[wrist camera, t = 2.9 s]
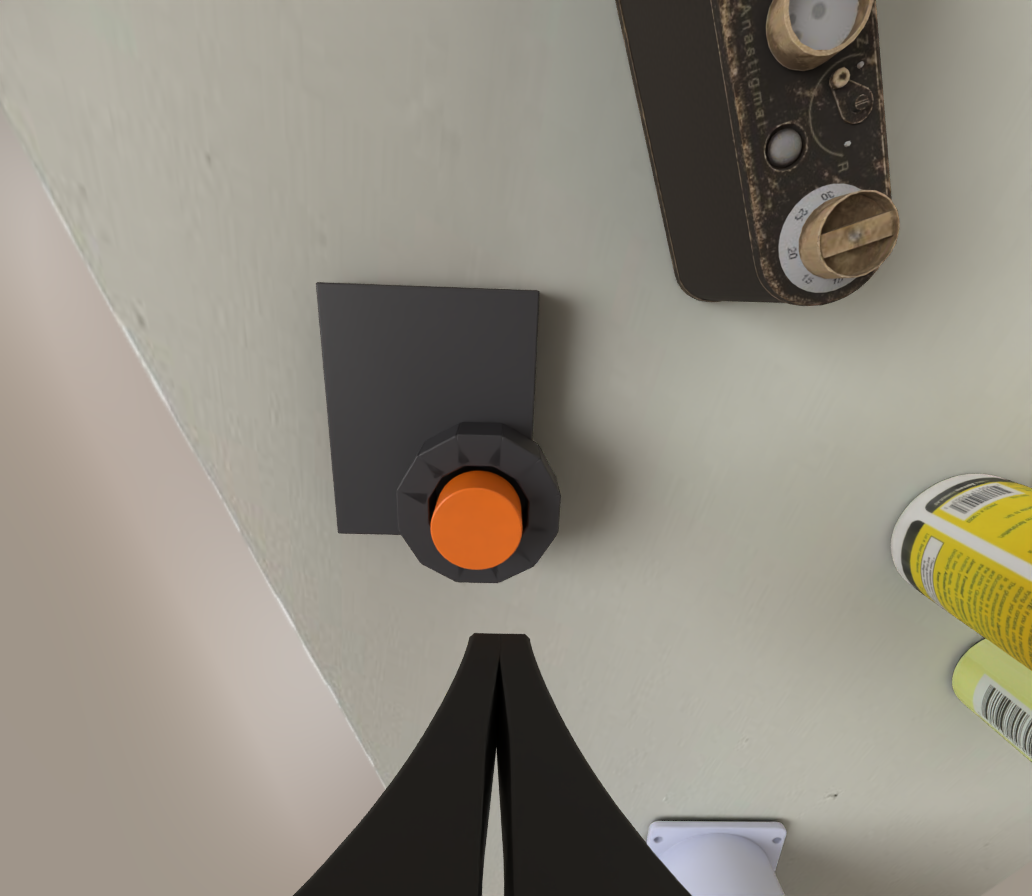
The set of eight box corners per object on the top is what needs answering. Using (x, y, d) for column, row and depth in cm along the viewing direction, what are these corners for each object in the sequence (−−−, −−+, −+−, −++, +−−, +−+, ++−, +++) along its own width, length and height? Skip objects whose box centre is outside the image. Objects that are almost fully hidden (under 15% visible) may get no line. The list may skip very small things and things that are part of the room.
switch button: (519, 546, 19) (520, 571, 17) (437, 545, 19) (430, 570, 17) (522, 470, 18) (524, 489, 16) (436, 468, 18) (429, 486, 16)
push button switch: (547, 541, 22) (554, 584, 19) (351, 536, 22) (324, 579, 19) (563, 291, 19) (575, 291, 15) (331, 283, 19) (293, 280, 15)
